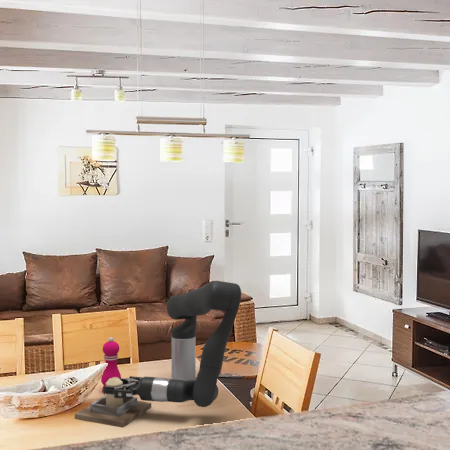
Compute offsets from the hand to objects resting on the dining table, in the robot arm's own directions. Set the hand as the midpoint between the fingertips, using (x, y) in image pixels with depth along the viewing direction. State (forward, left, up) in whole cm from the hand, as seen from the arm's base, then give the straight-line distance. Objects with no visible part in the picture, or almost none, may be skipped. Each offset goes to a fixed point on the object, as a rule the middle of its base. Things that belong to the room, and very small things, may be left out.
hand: (109, 385), depth 193 cm
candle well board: (0, +2, -9) cm, 9 cm away
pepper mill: (-17, -10, -9) cm, 22 cm away
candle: (0, +2, -8) cm, 8 cm away
